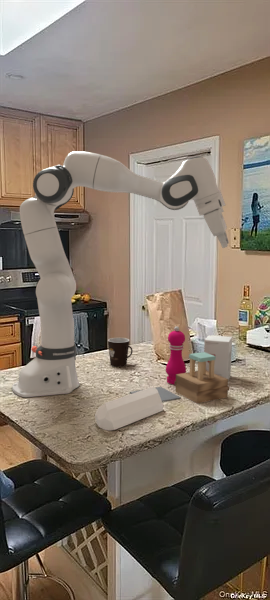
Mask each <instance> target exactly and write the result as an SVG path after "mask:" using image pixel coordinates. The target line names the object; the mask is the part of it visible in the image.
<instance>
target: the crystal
mask: <svg viewBox="0 0 270 600" xmlns="http://www.w3.org/2000/svg"><path fill="white" fill-rule="evenodd" d="M141 390H142V391H139V392H136V393H133V394H130V393H129V394H127V395H123V396H121V397H118V398H116V399H113V400H109V401H105V402H104V403H103V404H102V405H100V406H98V408H97V409H96V412H95V414H94V419H95V423H96V425H97V426H98V428H100V429H102V430H104V431H115V430H117V429H120V428H122V427H125V426H127V425H130V424H133V423H135V422H139V421H140V420H142V419H145V418H148V417H150V416H152V415H155V414H157V413H160V412H163V411H164V404H163V403H164V402H162V401H161V398H160V395H159V393H158V390H157V389H156V387H155V386H151V387H148V388H145V390H144V389H141Z"/></svg>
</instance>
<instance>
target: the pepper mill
mask: <svg viewBox="0 0 270 600" xmlns="http://www.w3.org/2000/svg"><path fill="white" fill-rule="evenodd" d="M167 340H168V343H169V344H168V345H169V347H168V348H169V349H170V355H169V359H168V361H167V364H166V366H165V373H166V374H167V377H166V382H167V383H168V384H170V385H174V386H176V385H175V381H176V374H182V373H187V367H186V363H185V362H184V358H183V353H182V352H183V349H184V347H185V345H184V342H185V341H186V336H185V334H184V332H183V331H181V330H180V327H179V326H176V325H175V327H174V328H173V330H172V331H170V332H169V334H168V336H167Z"/></svg>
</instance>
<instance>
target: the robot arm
mask: <svg viewBox="0 0 270 600" xmlns="http://www.w3.org/2000/svg"><path fill="white" fill-rule="evenodd" d="M77 187H83V188H89V189H92V190H95V191H100V192H106V193H107V192H108V193H125V194H126V193H127V194H134V195H138V196H141V197H144V198H148V199H152V200H155V201H157V202H159V203H160V204H162V206H164V207H165V208H167V209H168V210H171V211H179V210H181V209H183V208H185V207H186V206H187V205H188V203H189V202H190V201H193V202H194V204H195V208H196V210H197V213H198V215H199V216H203V218H204V221H205V222H206V224H207V226H208V229H209V231H210V233H211V234H212V236H214V237H216V238H217V240H218V241H219V243H220V246H221V247H222V249H224V248H228V246H229V242H230V241H229V239H228V234H227V232H226V230H227V228H228V226H227V224H226V220H225V218H224V216H223V212H225V211H224V208H223V207H225V206H226V203H225V199H224V197H223V194H222V192H221V190H220V188H219V187H218V184H217V179H216V176H215V173H214V171H213V168H212V166H211V164H210V162H209V161H208V160H207V158H205V157H203V156H193V157H190V158H187V159H185V160H183V161H182V163H181V164H180V166H179V167H178V169H177V170H176V171H175V172H174V173H173V174H172V175H171V176H170V177H168V178H167V179H166V180H165V181H161V180H156V179H155V178H150V177H148V176H147V177H146V176H143V175H141V174H140V175H139V174H137V173H135V172H134V171H132V170H131V169H129V168H128V167H127V166H126V165H125V164H124V163H122V162H121V161H120V160H117V159H115V158H113V157H110V156H107V155H105V154H104V155H103V154H100V153H95V152H89V151H80V150H79V151H78V150H76V151H75V150H74V151H71V152H69V153H68V154H67V155H66V156H65V159H64V161H63V163H62V165H61V164H57V165H54V166H50V167H47V168H44V169H42V170H40V171H38V172H37V173H36V175H35V176H34V178H33V182H32V188H33V192H34V194H35V195H34V196H33V197H29V198H27V199H25V200H24V201H23V202H22V203H21V204H20V205H19V218H20V223H21V224H20V225H21V228H22V233H23V236H24V239H25V243H26V247H27V249H28V253H29V257H30V259H31V261H32V263H33V265H34V267H35V269H36V271H37V273H38V276H39V278H40V279H39V280H38V282H37V284H36V288H35V296H36V298H37V299H36V301H37V307H38V314H39V319H40V341H41V343H40V345H39V346H38V347H37V346H36V345H33V346H32V347H31V352H33V353H35V357H33V359H32V360H31V361H29V362H28V363H27V364H26V365H24V366H23V367H22V368H21V369H20V371H19V374H18V381H16V382H14V383H12V385H11V390H12V392H13V393H14V394H15V395H17V396H19V397H23V398H31V397H33V398H34V397H40V396H41V397H43V396H53V395H55V396H56V395H64V394H70V393H72V392H73V390H75V389H77V388H78V387H80V385H81V384H80V382H79V381H80V380H79V378H78V372H77V368H76V360H77V358H76V357H77V347H76V344H75V320H74V314H73V307H72V298H73V297H74V296H75V293H76V290H77V282H76V279H75V277H74V273H73V270H72V268H71V266H70V263H69V259H68V258H67V256H66V253H65V250H64V246H63V243H62V240H61V236H60V232H59V229H58V226H57V223H56V218H55V211H57V210H58V209H60V208H61V207H62V206H65V205H67V203H68V202H70V201H71V200H72V198H73V196H74V192H75V190H74V189H75V188H77Z"/></svg>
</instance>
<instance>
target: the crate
mask: <svg viewBox="0 0 270 600" xmlns="http://www.w3.org/2000/svg"><path fill="white" fill-rule="evenodd" d="M174 386H175V393H176V394H178V395H180V396H182V397H184V398H186V399H188V400H189V401H192V402H193V403H196V404H200V403H206V402H211V401H215V400H220V399H221V400H222V399H225V398H226V399H227V398H228V396H229V395H228V393H229V392H228V391H230V386H229V380H228V379H226V378H224V377H222V376H219V375H217V374H214V378H209V371H207V370H206V374H205V375H203V380H198V370H195V376H193V377H191V376H190V371H188V372H186V373H182V374H176V381H175V385H174Z"/></svg>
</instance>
